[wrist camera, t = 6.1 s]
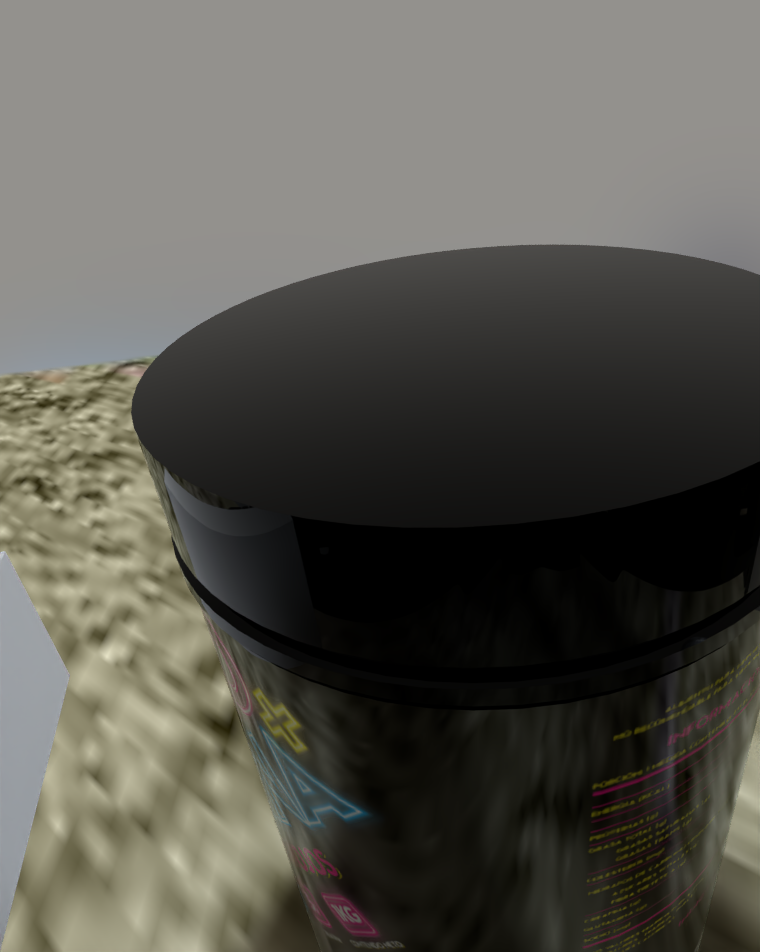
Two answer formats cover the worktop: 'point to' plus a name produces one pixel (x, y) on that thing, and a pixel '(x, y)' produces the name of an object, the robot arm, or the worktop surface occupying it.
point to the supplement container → (482, 584)
